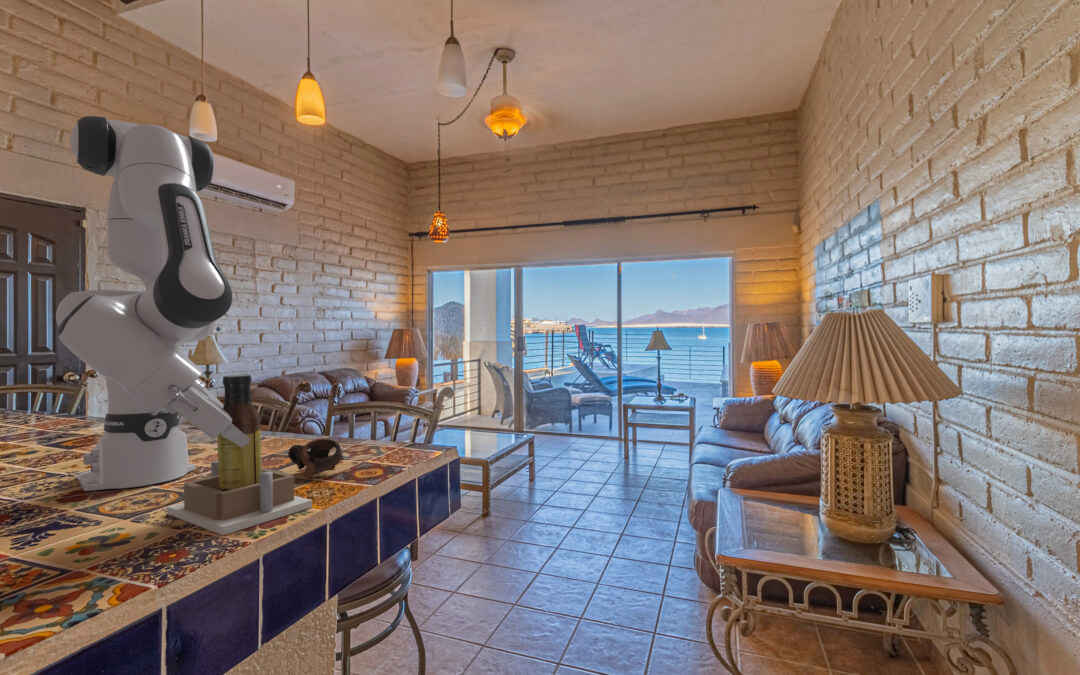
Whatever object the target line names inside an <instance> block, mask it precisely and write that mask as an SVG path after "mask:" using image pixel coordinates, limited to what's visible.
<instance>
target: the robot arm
mask: <svg viewBox="0 0 1080 675" xmlns="http://www.w3.org/2000/svg"><path fill="white" fill-rule="evenodd" d="M69 143H70V145H69V146H70V149H71V151H72V154H73V155H74V157H75V159H76V163H77V164H78V165H79V166H80V167H82V169H84V170H85V171H87V172H90V173H93V174H95V175H99V176H101V177H105V176H109V177H113V180H112V184H111V187H110V192H109V197H108V204H107V206H108V207H107V221H106V222H107V229H106V230H107V235H106V236H107V256H108V259H109V260H110V262H111V263H112V264H113V265H114V266H115V267H117V268H118V269H120V270H121V271H124V272H126V273H128V274H130V275H132V276H134V277H136V278H138V279H139V280H140V281H141V282H142V284H143V285H144V287H145V290H143V291H140V290H139V291H136V290H121V289H120V290H116V289H93V290H92V289H91V290H81V291H74V292H73V291H72V292H70V293H69V294H67V295H66V296H65V297H64V298H63V299H62V300H61V301H60V302H59V304H58V306H57V309H56V313H55V319H56V324H57V326H58V328H57V337H58V338H59V340H60V342H61V343H62V345H64V346H65V347H66V348H67V350H68V351H70V352H71V353H72V354H73V355H74V356H76V357H77V358H78V359H79V360H80V361H82V362H83V363H84V364H86V365H87V366H89V367H90V368H91V369H93V370H94V371H95V372H96V373H98V375H99V374H100V375H101V376H103V377H105V383H106V391H107V392H106V393H107V408H108V409H107V410H108V411H107V413H106V414H105V419H104V421H103V432H104V434H103V435H102V437H101V438H100V439H99V441H98V442H97V444H96V445H95V446H94V448H93V449H92V450H91V452H87V453H83V464H84V465H85V466H88V465H91V467H90V470H86V471H83V472H80V473H78V474H77V480H78V482H79V485H80V487H81V488H82V490H83V491H84V492H89V491H97V490H98V491H99V490H110V489H111V490H112V489H113V490H115V489H130V488H137V487H145V486H149V485H154V484H159V483H160V484H161V483H165V482H169V481H172V480H176V479H179V478H181V477H183V476H185V475H187V474H188V473H190V472H192V471H194V470H196V464H194V463H189V462H190V460H189V453H188V452H189V451H188V442H187V441H188V438H187V434H186V433H185V432H184V431H182V430H181V429H180V428H179V426H180V416H181V417H182V418H184V420H186V421H188V422H189V423H190V424H192V425H193V426H194V427H196V428H197V429H198V430H200V431H201V432H202V433H203V434H205V435H206V436H208V437H209V438H212V439H216V437H217V436H218V435H219V434H220V435H222V436H223V437H225V438H227V439H229V440H230V441H232V442H234V443H235V444H237V445H238V446H239V447H244V446H245V445H246V444H247V443H248V442H249V441H250V439H249V437H248V436H247V435H245V434H244V433H243V432H241V431H240V430H239V429H238V428H236V427H235V426H234V425H233V424H232V419H231V417H230V415H229V414H228V413H227V412H226V411H225V410H224V409H223V407H224V403H222V402H221V401H220V400H219V398H218V397H217V396H215V395H214V394H213V393H212V392H211V391H210V390H209V389H208V388H207V387H206V386H207V383H206V382H205V381H203V380H202V379H201V378H200V377H201V376H202V375H203V374H204V373H205V370H203V369H202V368H201V367H200V366H198V365H197V364H196V363H194V362H193V361H192V360H191V359H189V358H188V357H186V355H184V354H183V353H182V352H180V351H179V350H178V349H177V348H178V347H180V346H182V345H185V344H187V343H188V344H189V343H193V342H199V341H204V340H206V339H207V338H208V337H209V336H210V335H211V334H212V332H213V330H214V328H215V325H216V321H218V320H219V319H221V318H222V317H223V316H225V315H226V314H227V312H229V310H230V309H231V306H232V303H233V291H232V288H231V285H230V283H229V281H228V279H227V276H226V275H225V274H224V272H223V269H222V268H221V266H220V265H219V262H218V259H217V256H216V253H215V248H214V245H213V244H214V243H213V240H212V236H211V232H210V226H209V223H208V218H207V215H206V210H205V208H204V205H203V202H202V200H201V198H200V196H199V195H198V193H197V192H200V191H203V189H205V188H207V187H209V186H210V185H211V183H212V180H213V178H214V175H215V172H216V161H215V158H214V154H213V150H212V149H211V147H210V146H209V144H208V143H206V142H205V141H202V140H200V139H198V138H197V137H192V136H190V135H189V136H186V135H182V134H179V133H177V132H174V131H172V130H171V129H168V128H166V127H164V126H161V125H157V124H150V123H148V124H147V123H143V124H140V123H134V122H128V121H121V120H116V119H107V117H105V116H98V115H84V116H83V117H81V118H78V119H77V122H76V124H75V125H74V126H73V128H72V129H71V132H70V137H69Z"/></svg>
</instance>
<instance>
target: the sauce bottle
mask: <svg viewBox="0 0 1080 675" xmlns="http://www.w3.org/2000/svg"><path fill="white" fill-rule="evenodd" d="M251 384H252V374H233V375H232V374H231V375H224V376H223V377H222V385H223V387H224V400H223V401H224V402H223V405H224V407H223V409H224V410H225V411H226V412H227V413H228V414H229V415H230V417H231V419H232V424H233V425H234V426H235V427H236V428H238V429H239V430H240V431H241V432H243V433H244V434H245V435H247V436H248V437H249V439H250V441H249V442H248V443H247V444H246V445H245V446H244V447H239V446H238V445H237V444H235V443H234V442H232V441H230V440H229V439H227V438H225V437H223V436H222V435H220V434H219V435H218V436H217V440H216V441H217V461H218V468H219V487H220V489H221V490H220V491H223V492H225V491H229V490H233V489H237V488H241V487H245V486H249V485H253V484H257V483H260V473H262V468H263V456H262V455H263V454H262V453H263V451H262V430H261V425H260V424H261V423H260V420H261V419H260V418H261V417H260V414H259V411H258V409H257V408H256V406H255V405H254V404H253V403H252V396H251Z"/></svg>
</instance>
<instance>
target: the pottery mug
mask: <svg viewBox="0 0 1080 675" xmlns="http://www.w3.org/2000/svg"><path fill="white" fill-rule="evenodd" d="M334 448H335V452H334V453H333V454H331V455H329V453H330V451H331V450H333V449H334ZM342 452H343V450H342V449H341V446H340V443H339V442H338V441H336V440H333V439H330V438H322V437H321V438H315V439H312V440H309V441H308V442H307V443H306V444H305V445H302V444H293V445H292V446H290V448H289V449H288V452H287V455H288V457H289V459H290V461H291V462H292V463H293V464H295V465H296V466H297V468H298V470H300V471H301V470H303V469H304V468H305V469H304V472H303V473H304V474H303V476H304V477H305V478H307V479H309V480H311V479H312V478H313V477H314V475H317V474H320V473H323V472H326V471H329V470H332V469H334V468H335V467H336V466H337V465H338V464H340V462H341V461H345V458H344V455H343V454H342Z"/></svg>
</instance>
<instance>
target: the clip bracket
mask: <svg viewBox="0 0 1080 675" xmlns="http://www.w3.org/2000/svg"><path fill="white" fill-rule="evenodd" d="M210 474H211V475H210V476H208V477H203V478H199V479H194V480H191V481H190V480H189V481H186V482H184V484H183V488H184V489H183V490H184V491H183V493H184V496H183V498H184V499H183V500H184V502H181V503H177V504H173V505H172V504H171V505H169V506H167V508H166V510H167V512H166V513H167V515H169V516H171V517H174V518H177V519H179V520H181V521H185V522H188V523H190V524H192V525H195V526H198V527H200V528H202V529H206V530H207V531H210V532H213V533H216V534H218V535H221V536H225V535H229V534H232V533H235V532H239V531H242V530H244V529H248V528H250V527H251V528H252V527H254V526H257V525H260V524H264V523H266V522H270V521H273V520H276V519H279V518H283V517H286V516H289V515H291V514H292V515H293V514H295V513H299V512H301V511H302V512H303V511H305V510H309V509H311V508H313V500H312V499H308V498H307V497H306V498H304V497H301V496H298V495H295V476H294V474H292V473H289V472H283V471H281V470H275V469H271V468H266V467H262V473H260V483H257V484H253V485H249V486H245V487H241V488H237V489H233V490H229V491H225V492H223V491H220V490H221V489H220V487H219V468H218V460H215V461H211V463H210Z"/></svg>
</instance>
